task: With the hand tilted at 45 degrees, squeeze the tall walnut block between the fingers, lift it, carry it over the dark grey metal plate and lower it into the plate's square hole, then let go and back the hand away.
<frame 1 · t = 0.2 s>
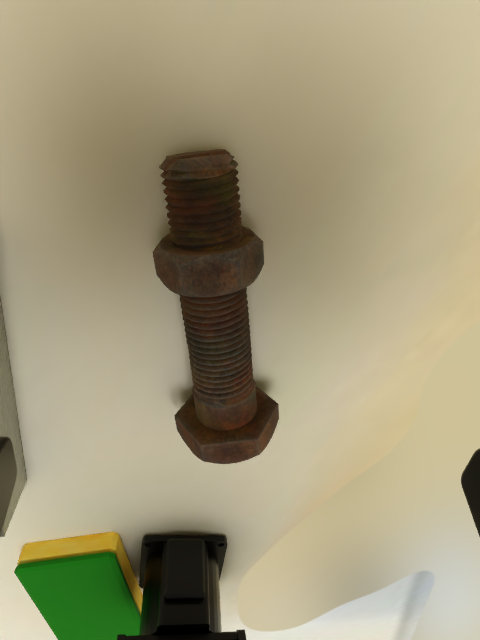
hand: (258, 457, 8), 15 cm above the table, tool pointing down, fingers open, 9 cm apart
dish sponge: (95, 578, 37), on the table
bolt: (216, 292, 23), on the table
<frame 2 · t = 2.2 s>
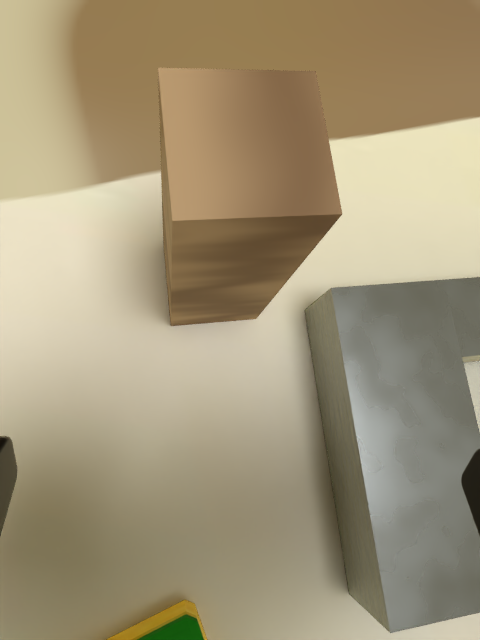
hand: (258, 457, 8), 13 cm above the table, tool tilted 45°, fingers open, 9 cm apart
walnut block: (209, 281, 23), on the table
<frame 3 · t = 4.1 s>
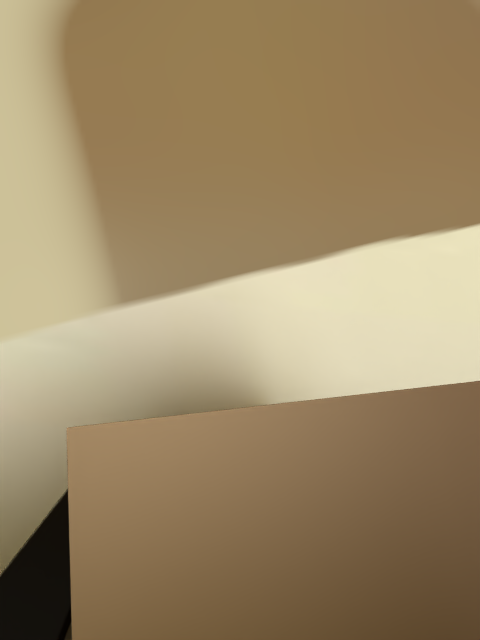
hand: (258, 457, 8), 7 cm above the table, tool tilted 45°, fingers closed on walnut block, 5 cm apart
walnut block: (218, 488, 14), on the table, touching gripper
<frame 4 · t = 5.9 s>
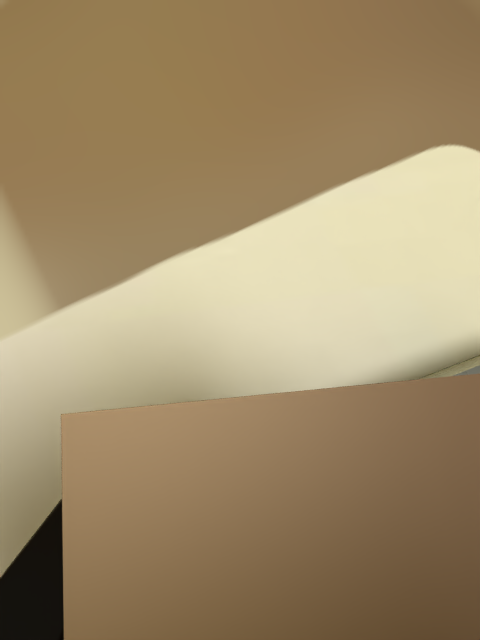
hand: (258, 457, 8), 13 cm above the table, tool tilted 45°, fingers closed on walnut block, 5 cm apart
walnut block: (219, 486, 14), point 7 cm above the table, touching gripper
hole plate: (404, 539, 22), on the table
when the fingers open (9 cm above the table, at t = 8.0 s): walnut block drops 3 cm, resting in hole plate.
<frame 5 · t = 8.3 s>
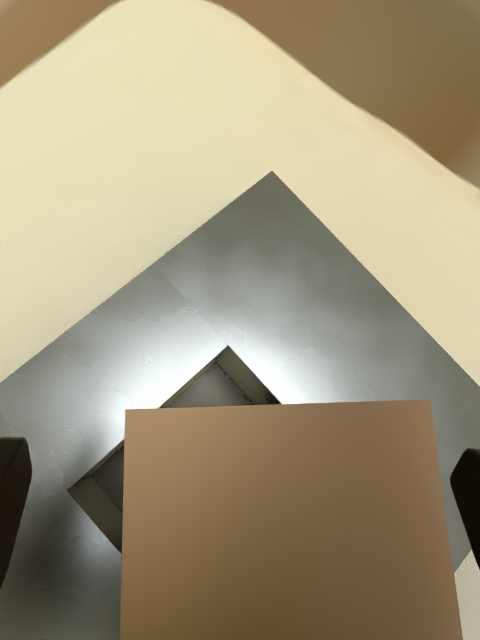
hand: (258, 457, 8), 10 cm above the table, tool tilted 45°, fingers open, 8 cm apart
walnut block: (211, 476, 17), resting in hole plate
hole plate: (210, 477, 17), on the table
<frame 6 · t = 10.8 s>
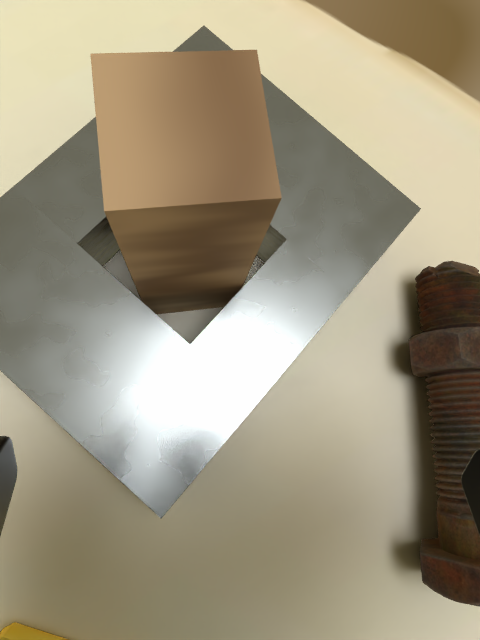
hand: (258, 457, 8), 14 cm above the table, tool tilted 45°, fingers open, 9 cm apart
walnut block: (186, 269, 23), resting in hole plate
bolt: (438, 415, 24), on the table
hole plate: (185, 269, 23), on the table
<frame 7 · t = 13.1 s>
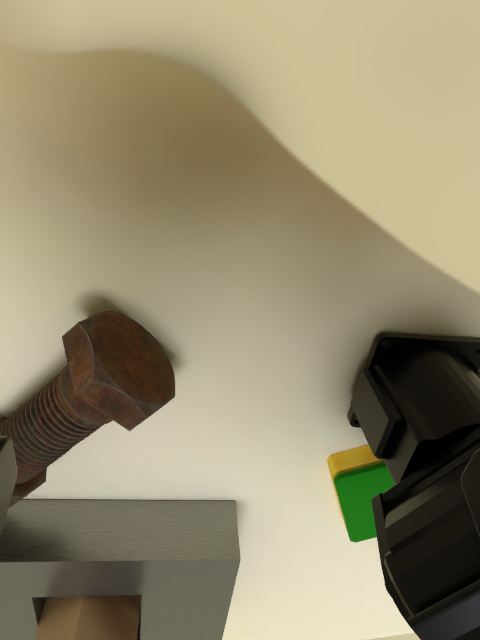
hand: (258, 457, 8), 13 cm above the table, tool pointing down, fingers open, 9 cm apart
walnut block: (100, 561, 32), resting in hole plate
dish sponge: (430, 455, 30), on the table
bolt: (46, 401, 24), on the table
hole plate: (101, 561, 32), on the table
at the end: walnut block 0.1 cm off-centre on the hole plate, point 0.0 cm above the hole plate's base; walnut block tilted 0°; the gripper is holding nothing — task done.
